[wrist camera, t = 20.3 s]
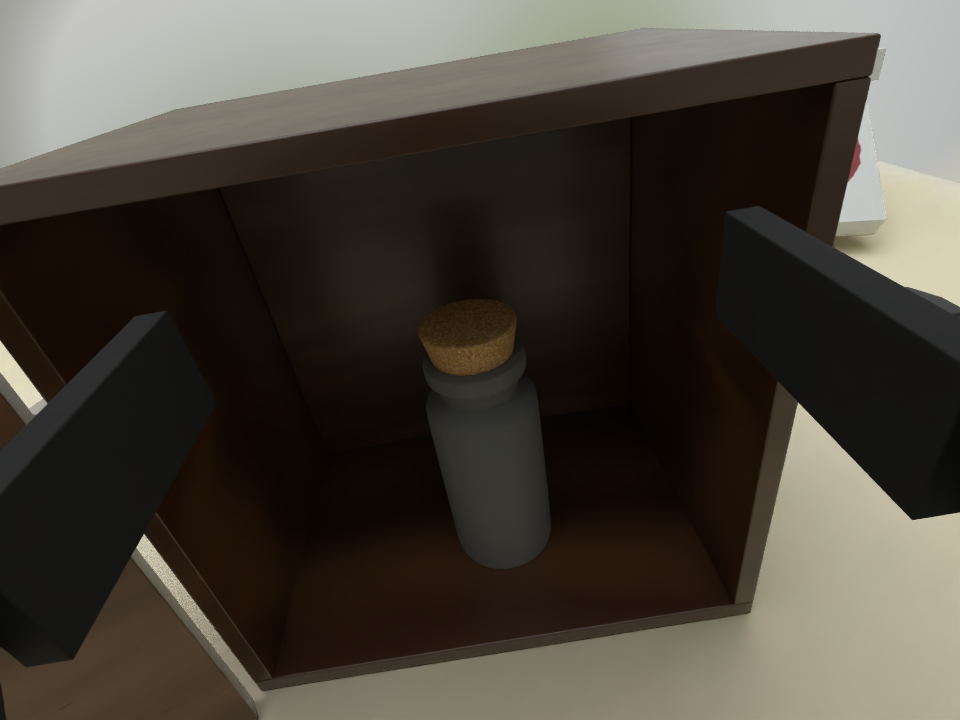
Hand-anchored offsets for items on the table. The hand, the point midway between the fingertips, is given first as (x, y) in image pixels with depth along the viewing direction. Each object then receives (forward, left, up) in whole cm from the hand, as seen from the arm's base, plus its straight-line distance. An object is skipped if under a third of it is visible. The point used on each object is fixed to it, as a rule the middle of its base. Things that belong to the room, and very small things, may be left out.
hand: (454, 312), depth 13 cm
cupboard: (+10, -7, -22) cm, 25 cm away
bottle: (+8, -7, -21) cm, 24 cm away
